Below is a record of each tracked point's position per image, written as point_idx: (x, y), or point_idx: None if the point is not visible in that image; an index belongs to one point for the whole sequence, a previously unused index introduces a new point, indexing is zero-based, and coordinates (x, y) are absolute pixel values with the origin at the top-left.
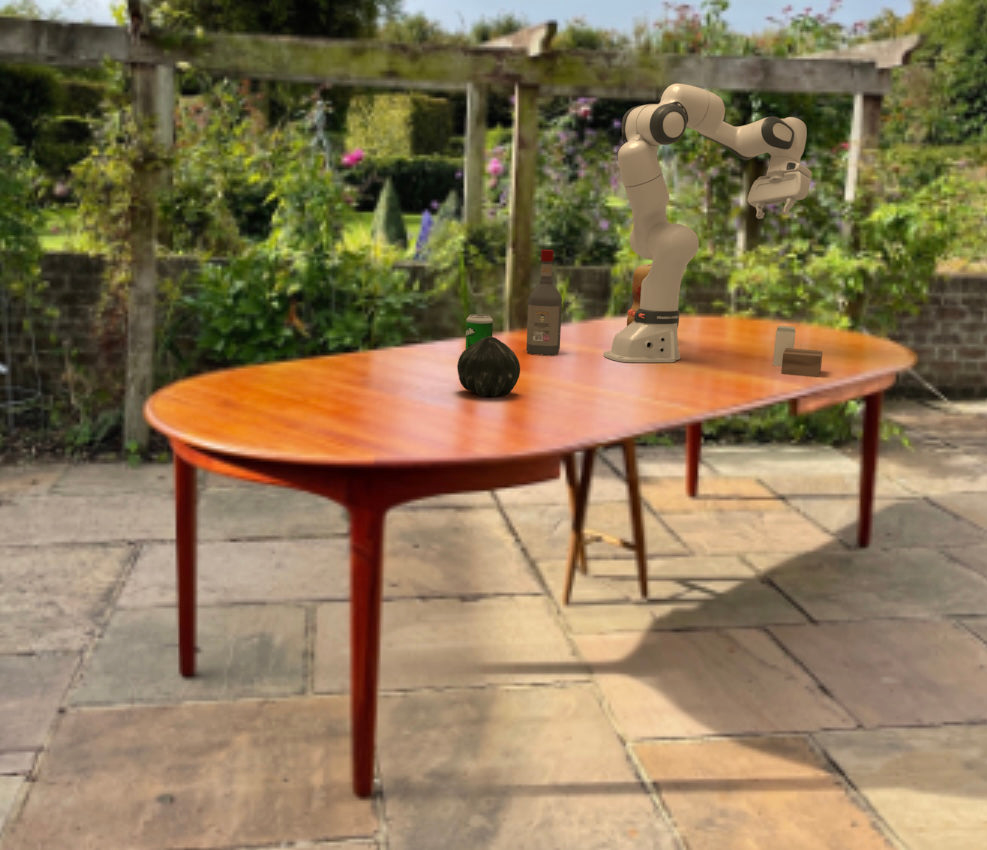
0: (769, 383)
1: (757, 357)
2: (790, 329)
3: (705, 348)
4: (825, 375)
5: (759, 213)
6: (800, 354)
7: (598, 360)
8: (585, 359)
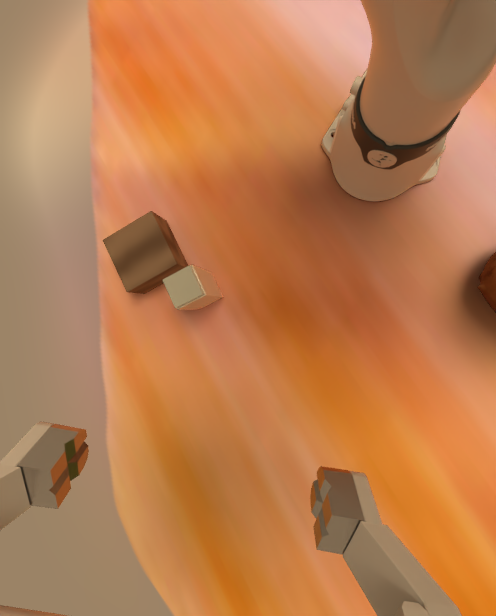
0: (137, 141)
1: (270, 320)
2: (168, 277)
3: (387, 324)
4: None
5: (336, 489)
6: (129, 226)
7: None
8: None
